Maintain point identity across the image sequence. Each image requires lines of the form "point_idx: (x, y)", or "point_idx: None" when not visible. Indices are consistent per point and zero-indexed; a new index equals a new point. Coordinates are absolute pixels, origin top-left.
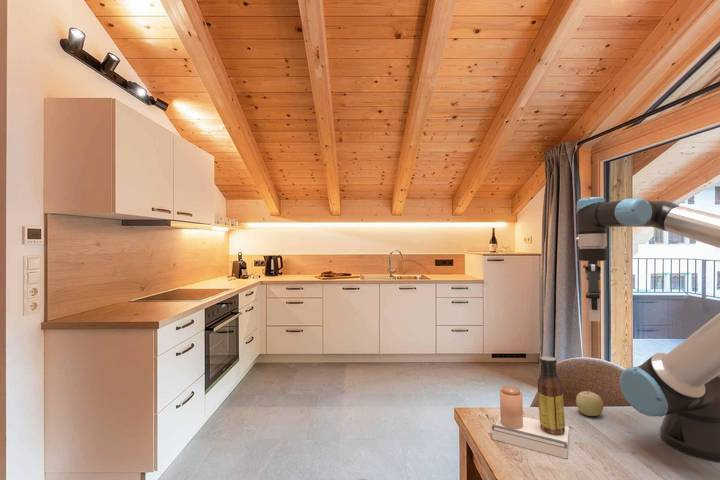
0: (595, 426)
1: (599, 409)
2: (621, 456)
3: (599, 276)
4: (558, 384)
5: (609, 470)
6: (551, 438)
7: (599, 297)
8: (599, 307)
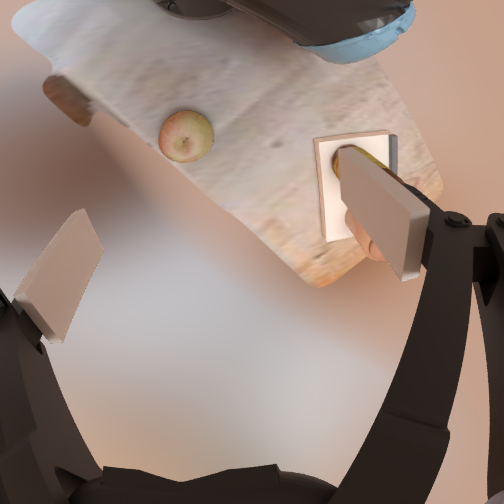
0: (241, 110)
1: (198, 114)
2: (332, 64)
3: (443, 456)
4: (401, 181)
5: (383, 80)
6: (392, 156)
7: (457, 214)
8: (392, 180)
